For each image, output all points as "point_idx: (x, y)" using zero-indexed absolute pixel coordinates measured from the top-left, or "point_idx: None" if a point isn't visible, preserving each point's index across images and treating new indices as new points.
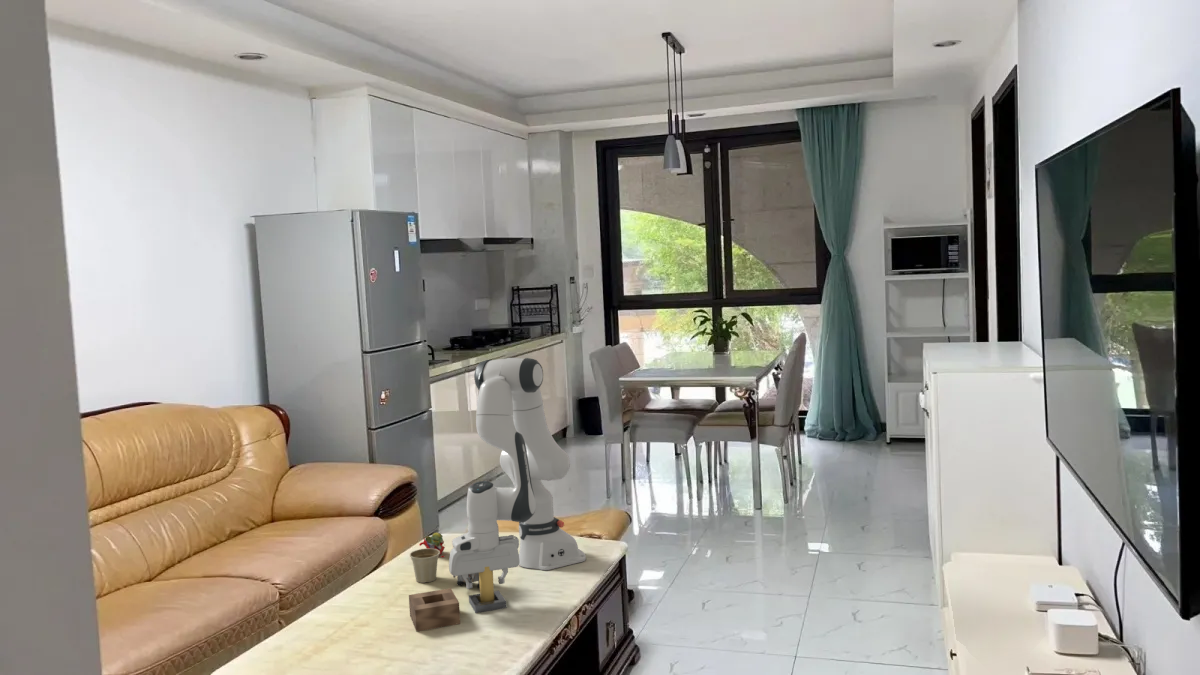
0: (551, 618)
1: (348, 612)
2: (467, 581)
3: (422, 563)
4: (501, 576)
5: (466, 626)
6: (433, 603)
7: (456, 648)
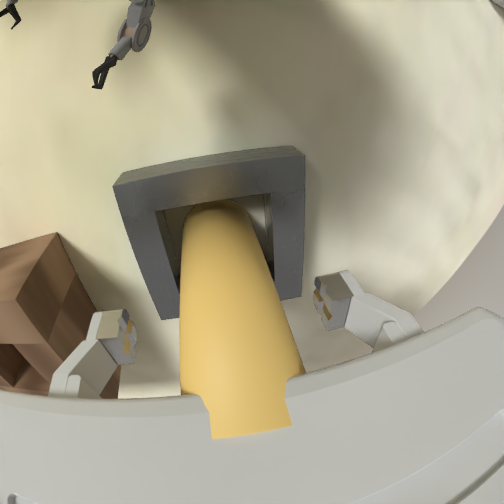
0: (370, 346)
1: None
2: (105, 378)
3: None
4: (351, 310)
5: (145, 365)
6: (34, 393)
7: None
